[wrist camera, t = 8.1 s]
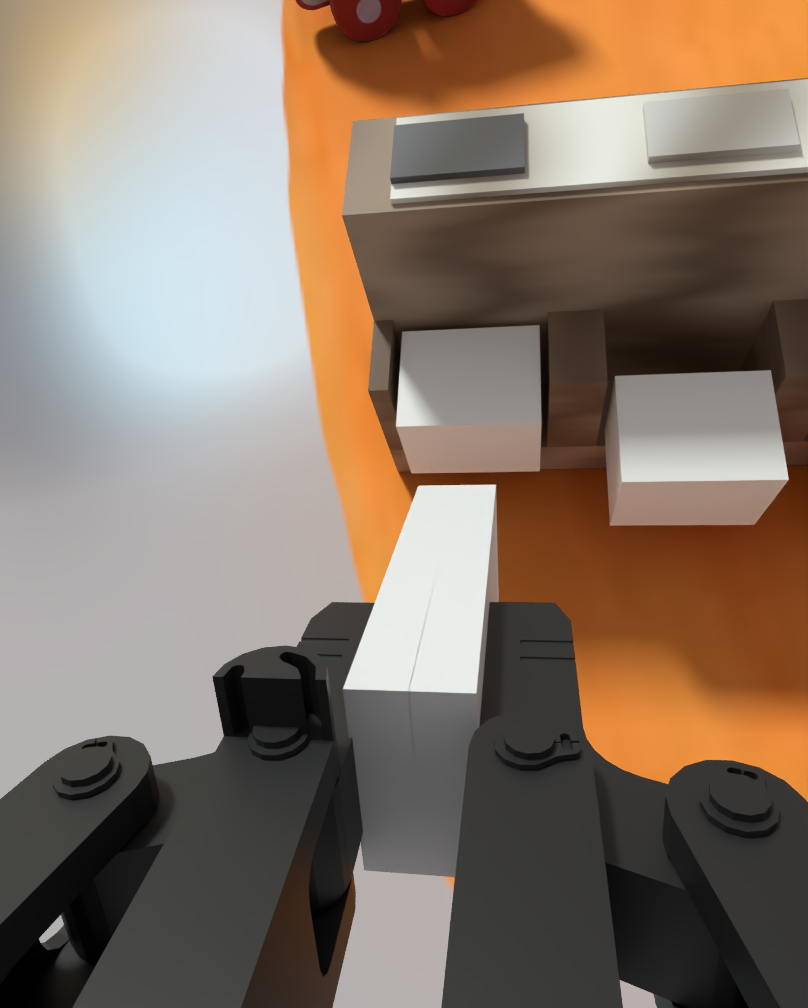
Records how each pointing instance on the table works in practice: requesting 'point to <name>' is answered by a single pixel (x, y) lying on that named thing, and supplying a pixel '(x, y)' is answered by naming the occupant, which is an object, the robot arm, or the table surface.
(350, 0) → the red wheeled toy
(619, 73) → the table surface
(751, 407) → the middle button
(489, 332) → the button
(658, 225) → the console
